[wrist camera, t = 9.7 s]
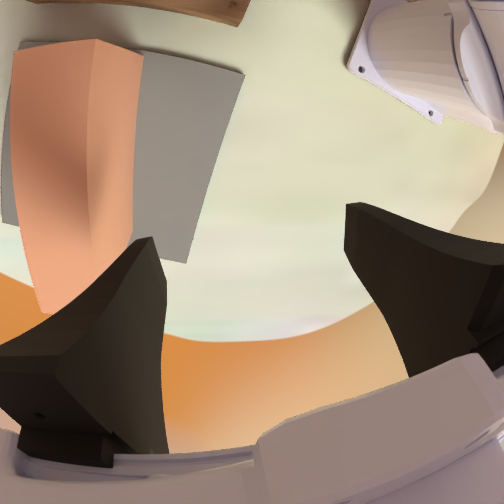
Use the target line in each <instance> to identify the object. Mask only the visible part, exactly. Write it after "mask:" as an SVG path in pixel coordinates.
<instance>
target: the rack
mask: <svg viewBox="0 0 504 504" xmlns="http://www.w3.org/2000/svg"><path fill="white" fill-rule="evenodd" d="M27 1H30V2H33V3H36V4H38V3H58V2H87V3H108V4H120V5H130V6H139V7H147V8H153V9H160V10H166V11H171V12H177V13H182V14H187V15H191V16H196V17H200V18H205V19H209V20H213V21H217V22H220V23H224V24H228V25H231V26H235V27H238V25H239V24H240V23H241V21H242V19H243V17H244V15H245V12H246V10H247V7H248V5H249V3H250V0H27Z"/></svg>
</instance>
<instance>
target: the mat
mask: <svg viewBox="0 0 504 504" xmlns="http://www.w3.org/2000/svg"><path fill="white" fill-rule="evenodd" d="M55 43H61V42H20V45H19V49H18V50H23V49H27V48H32V47H37V46H43V45H49V44H55ZM121 48H123V47H121ZM124 49H127V50H129V51H132V52H135V53H137V54H140V55H142V56H144V59H143V66H142V73H141V81H140V89H139V98H138V108H137V119H136V132H135V147H134V168H133V232H132V235H131V237H130V240H129V243H128V245H127V247H128V246H129V245H130V244H132V243H133V242H134V241H135V240H136V239H140V238H145V237H150V236H152V237H153V240H154V243H155V247H156V250H157V253H158V256H159V258H161V259H166V260H171V261H176V262H181V263H186V262H187V259H188V255H189V251H190V247H191V244H192V240H193V236H194V233H195V229H196V226H197V222H198V219H199V215H200V212H201V208H202V205H203V202H204V198H205V195H206V191H207V188H208V185H209V182H210V178H211V175H212V172H213V169H214V165H215V162H216V159H217V156H218V153H219V150H220V147H221V144H222V141H223V138H224V135H225V132H226V129H227V126H228V123H229V120H230V117H231V114H232V111H233V108H234V105H235V103H236V100H237V97H238V94H239V91H240V89H241V86H242V83H243V80H244V78H245V75H243V74H240V73H237V72H233V71H230V70H227V69H223V68H220V67H216V66H212V65H208V64H205V63H201V62H197V61H192V60H188V59H184V58H179V57H175V56H170V55H165V54H160V53H155V52H149V51H143V50H137V49H130V48H124ZM10 92H11V84H10V90H9V95H8V102H7V108H6V116H5V124H4V134H3V147H2V166H1V203H2V223H6V224H10V225H15V226H19V221H18V215H17V209H16V202H15V195H14V186H13V177H12V166H11V151H10ZM19 227H20V226H19Z"/></svg>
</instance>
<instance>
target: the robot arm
mask: <svg viewBox="0 0 504 504" xmlns="http://www.w3.org/2000/svg"><path fill="white" fill-rule="evenodd" d="M359 66H360V67H361V68H362V72H361V73H360V72H359V70H358V68H359ZM347 69H348V70H349V71H350V72H351V73H353V74H355V75H357V76H359V77H361V78H362V79H364V80H366V81H368V82H370V83H372V84H373V85H375V86H377V87H379V88H380V89H382V90H384V91H385V92H387V93H389V94H390V95H392V96H394V97H395V98H397V99H399V100H400V101H402V102H403V103H405V104H406V105H408V106H410V107H411V108H413V109H414V110H416V111H417V112H419V113H420V114H421V115H423V116H424V117H426V118H427V119H429V120H430V121H432V122H433V123H435V124H437V125H439V124H441V122H442V120H443V118H444V116H447V117H451V118H454V119H457V120H460V121H463V122H465V123H468V124H471V125H474V126H477V127H479V128H482V129H485V130H487V131H490V132H493V133H499V134H501V133H502V134H504V0H421V1H415V2H410V3H409V2H408V1H407V0H371V2H370V5H369V7H368V10H367V13H366V15H365V18H364V21H363V23H362V26H361V28H360V31H359V34H358V36H357V39H356V42H355V44H354V47H353V49H352V52H351V54H350V57H349V60H348V62H347ZM429 111H430V115H429ZM344 252H345V254H346V256H347V258H348V260H349V262H350V264H351V266H352V268H353V270H354V272H355V273H356V275H357V276H358V278H359V279H360V281H361V282H362V284H363V285H364V287H365V288H366V290H367V291H368V293H369V294H370V296H371V297H372V299H373V300H374V302H375V303H376V305H377V306H378V308H379V309H380V311H381V313H382V314H383V316H384V318H385V320H386V322H387V324H388V326H389V328H390V330H391V332H392V334H393V337H394V339H395V341H396V344H397V346H398V349H399V351H400V354H401V356H402V358H403V361H404V364H405V367H406V370H407V373H408V376H409V378H408V379H406V380H403V381H400V382H397V383H395V384H392V385H389V386H387V387H384V388H381V389H378V390H375V391H372V392H369V393H366V394H363V395H360V396H357V397H354V398H351V399H348V400H344V401H341V402H337V403H334V404H330V405H326V406H323V407H319V408H317V409H314V410H311V411H309V412H306V413H303V414H300V415H297V416H294V417H291V418H288V419H286V420H284V421H283V422H281V423H279V424H278V425H276V426H275V427H273V428H271V429H270V430H268V431H266V432H265V433H263V434H262V435H261V436H260V437H259V439H258V440H257V443H256V445H250V446H244V447H237V448H230V449H222V450H213V451H204V452H192V453H178V454H177V453H176V454H169V449H168V443H167V437H166V430H165V422H164V414H163V403H162V388H161V351H162V341H163V333H164V324H165V316H166V307H167V281H166V278H165V275H164V272H163V269H162V266H161V262H160V259H159V256H158V253H157V250H156V247H155V243H154V240H153V237H152V236H150V237H145V238H140V239H136V240H135V241H134V242H133V243H132V244H130V245H129V246H128V247H127V248H126V249H125V250H124V252H123V253H122V254H121V255H120V256H119V257H118V258H117V259H116V260H115V261H114V262H113V263H112V264H111V265H110V266H109V267H108V268H107V269H106V270H105V271H104V272H103V273H102V274H101V275H100V276H99V277H98V278H97V279H96V280H95V281H94V282H93V283H92V284H91V285H90V286H89V287H88V288H87V289H85V290H84V291H83V292H82V293H81V294H80V295H78V296H77V297H76V298H75V299H74V300H72V301H71V302H70V303H69V304H67V305H66V306H65V307H63V308H62V309H60V310H59V311H58V312H56V313H55V314H54V315H52V316H51V317H49V318H48V319H46V320H45V321H43V322H42V323H40V324H39V325H37V326H36V327H34V328H32V329H30V330H29V331H27V332H25V333H23V334H21V335H20V336H18V337H16V338H14V339H12V340H10V341H8V342H6V343H4V344H2V345H0V408H1V409H2V410H4V411H5V412H6V413H7V414H8V415H9V416H10V417H11V418H12V419H14V420H15V421H16V422H17V423H18V424H19V425H21V426H22V427H21V431H20V435H19V434H17V433H15V432H13V431H10V430H7V429H1V428H0V504H504V451H503V449H502V448H501V446H500V444H499V442H501V441H502V440H503V439H504V244H500V243H493V242H486V241H480V240H475V239H470V238H466V237H462V236H457V235H453V234H450V233H447V232H443V231H440V230H437V229H434V228H431V227H428V226H425V225H422V224H419V223H417V222H414V221H411V220H409V219H406V218H404V217H401V216H399V215H396V214H394V213H391V212H389V211H386V210H384V209H381V208H378V207H376V206H373V205H370V204H366V203H362V202H358V203H350V204H346V219H345V238H344Z"/></svg>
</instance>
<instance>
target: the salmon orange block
mask: <svg viewBox="0 0 504 504" xmlns="http://www.w3.org/2000/svg"><path fill="white" fill-rule="evenodd" d="M143 59H144V56H142V55H140V54H137V53H135V52H132V51H129V50H127V49H124V48H121V47H119V46H116V45H113V44H110V43H107V42H105V41H102V40H99V39H86V40H77V41H69V42H61V43H55V44H49V45H43V46H37V47H32V48H27V49H23V50H18V51H14V58H13V66H12V77H11V92H10V151H11V166H12V177H13V186H14V195H15V202H16V209H17V215H18V221H19V226H20V232H21V237H22V242H23V246H24V251H25V255H26V259H27V264H28V268H29V271H30V275H31V279H32V282H33V286H34V289H35V293H36V296H37V299H38V302H39V306H40V308H41V312H42V313H49V314H55V313H56V312H58V311H59V310H60V309H62V308H63V307H65V306H66V305H67V304H69V303H70V302H71V301H72V300H74V299H75V298H76V297H77V296H78V295H80V294H81V293H82V292H83V291H84V290H85V289H87V288H88V287H89V286H90V285H91V284H92V283H93V282H94V281H95V280H96V279H97V278H98V277H99V276H100V275H101V274H102V273H103V272H104V271H105V270H106V269H107V268H108V267H109V266H110V265H111V264H112V263H113V262H114V261H115V260H116V259H117V258H118V257H119V256H120V255H121V254H122V253H123V252H124V250H125V249H126V248H127V245H128V243H129V240H130V237H131V235H132V232H133V168H134V147H135V132H136V119H137V108H138V98H139V89H140V81H141V73H142V66H143Z"/></svg>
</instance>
